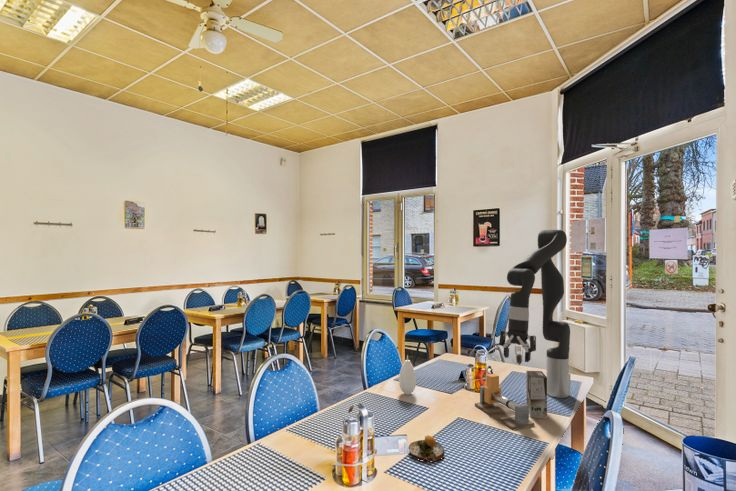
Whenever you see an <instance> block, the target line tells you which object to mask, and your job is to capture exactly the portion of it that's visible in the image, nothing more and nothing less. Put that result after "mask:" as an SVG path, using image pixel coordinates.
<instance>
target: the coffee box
mask: <svg viewBox="0 0 736 491" xmlns="http://www.w3.org/2000/svg"><path fill="white" fill-rule="evenodd" d="M525 382H526V404H527V405H529V418H536V419H547V418H548V399H547V398H548V394H547V375H546V374H544V372H543V371H541V370H526V381H525Z"/></svg>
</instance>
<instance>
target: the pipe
mask: <svg viewBox="0 0 736 491" xmlns="http://www.w3.org/2000/svg"><path fill="white" fill-rule="evenodd" d="M484 387H486V385H481V386H479V403H481V404H486V402H485V401H484ZM491 398H492V399H494V400H496V401H498V402H499V403H500V404H502V405H504V406H505V407H507V408H509V409H511V410H512V411H514V412H515V424H516V425H517V426H520V425H525V424H529V420H530V415H529V405H527V403H521V404H519V403H517V402H515V401H514V400H511V399H510V398H508V397H506V396H504V395H502V394H501V395H500V394H498V393H497V392H495V391H493V392H491Z"/></svg>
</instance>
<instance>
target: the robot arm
mask: <svg viewBox="0 0 736 491" xmlns="http://www.w3.org/2000/svg"><path fill="white" fill-rule="evenodd" d="M567 242H568V237H567V234H566V232H565V231H564V230H562V229H541V230H540V231H539V232H538V235H537V249H536V250H534V251H532V252H530V254H528V255H527V256H526V257H525V259H524V260H523V261H521V262H519V263H517V264H515V266H513V267H511V268H510V269H509V270H508V272H507V276H506V280H507V283H508V284H509V285H511V286H515V287H517V286H518V287H520V290H519V291H513V292H511V294H510V301H509V303H510V304H509V310H508V323H507V324H508V325H507V326H508V327H507V331H506V330H501V331H500V335H499V342H498V343H499V346H501V347H502V348H503V356H504V358H505V359H507V358H508V359H509V357H510V348H509V347H510V346H511V345H512V344H513V345H518V346H519V345H520V346H521V347H522V348H523V349H524V351H525V352H524V362H526V363H529V361H531V358H532V357H531V356H532V355H531V354H532V352H536V351H537V336H536V335H529V322H530V321H529V320H530V312H529V311H530V309H529V307H530V306H529V305H530V295H531V293H532V290H533V287H534V285H535V281H536V276H535V274H537V273H538V272H539V271H540V273H541V274H540V277H541V278H540V280H541V282H540V283H541V297H542V335H543V338H544V340H546V341H549V342H555V343H558V346H555V347H551V348H548V349H546V377H547V396H551V397H553V398H556V399H557V398H558V399H560V398H561V399H565V398H569V397H570V396H571V374H570V372H569V371H570V364H569V362H570V358H569V356H570V344H571V343H570V341H571V327H570V324H569V323H567V322H564V321H557V320H556V321H555V320H553V318H554V317H553V316H554V311H555V309H556V308H557V306H558V305H559V303H560V302H561V300H562V299H563V297H564V293H565V284H564V282H565V281H564V278H563V276H562V274H561V272H560V270H559V269H558V268H557V267H556V265H555V264H554V261H553V260H552V259H553V257H554V256H556V255H558V254H559V253H560V252H561V251H562V250H564V249H565V247H566V245H567ZM507 337H508V339H507V340H506V338H507ZM528 341H529V343H528Z"/></svg>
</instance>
